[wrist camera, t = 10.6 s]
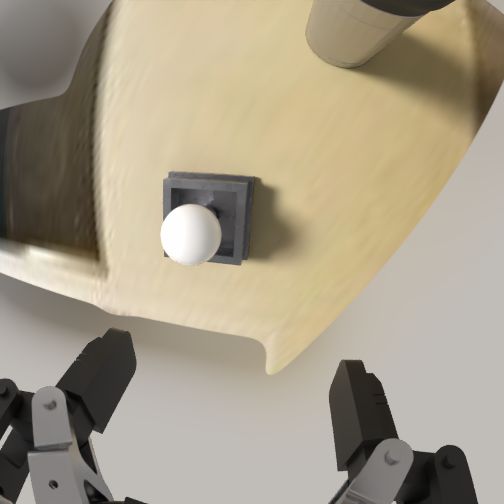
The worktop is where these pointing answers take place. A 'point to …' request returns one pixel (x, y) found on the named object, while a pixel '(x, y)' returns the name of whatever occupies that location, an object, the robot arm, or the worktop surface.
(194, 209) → the lightbulb
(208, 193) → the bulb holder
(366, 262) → the worktop surface
